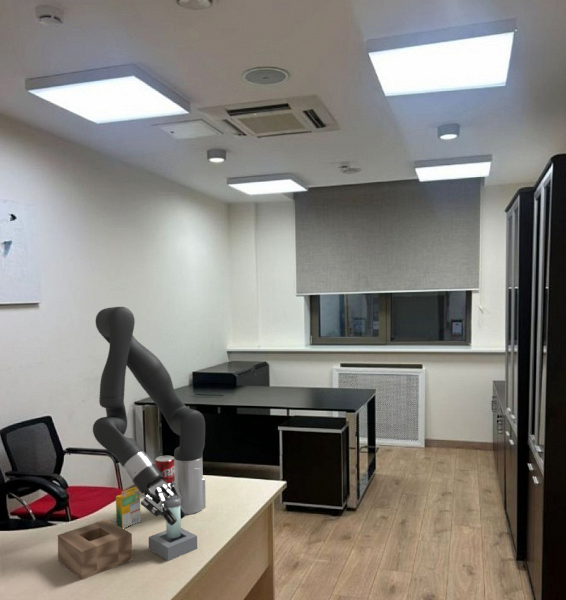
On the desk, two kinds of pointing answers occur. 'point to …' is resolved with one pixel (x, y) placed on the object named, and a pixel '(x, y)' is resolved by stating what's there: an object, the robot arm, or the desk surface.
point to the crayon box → (128, 507)
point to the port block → (94, 548)
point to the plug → (174, 507)
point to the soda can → (166, 468)
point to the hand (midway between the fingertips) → (179, 519)
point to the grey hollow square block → (172, 544)
